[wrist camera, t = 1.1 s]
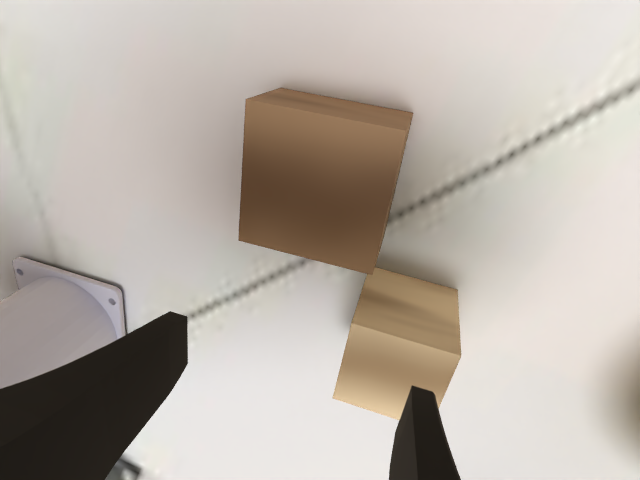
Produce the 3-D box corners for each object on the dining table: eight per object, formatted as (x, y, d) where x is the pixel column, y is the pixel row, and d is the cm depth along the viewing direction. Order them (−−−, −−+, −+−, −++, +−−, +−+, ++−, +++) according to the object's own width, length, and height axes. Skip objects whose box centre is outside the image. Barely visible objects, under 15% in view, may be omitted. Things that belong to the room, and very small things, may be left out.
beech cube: (431, 355, 23) (429, 430, 19) (352, 331, 24) (332, 397, 19) (457, 289, 21) (461, 355, 17) (369, 265, 22) (351, 323, 17)
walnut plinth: (384, 234, 21) (372, 275, 17) (271, 207, 22) (238, 240, 18) (413, 112, 18) (406, 130, 14) (282, 87, 19) (245, 99, 15)
